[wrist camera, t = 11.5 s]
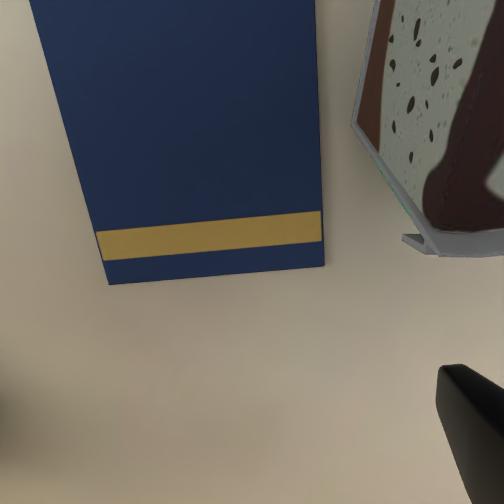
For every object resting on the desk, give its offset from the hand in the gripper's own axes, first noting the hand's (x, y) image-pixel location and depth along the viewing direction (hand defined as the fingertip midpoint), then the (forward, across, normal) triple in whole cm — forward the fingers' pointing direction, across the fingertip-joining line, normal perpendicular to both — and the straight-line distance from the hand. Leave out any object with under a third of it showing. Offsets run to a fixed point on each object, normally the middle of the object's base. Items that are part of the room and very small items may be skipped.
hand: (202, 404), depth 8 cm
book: (+12, +1, -7) cm, 13 cm away
